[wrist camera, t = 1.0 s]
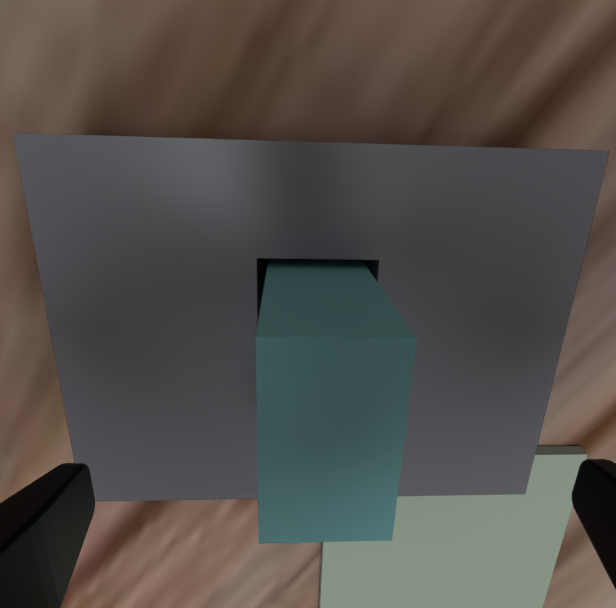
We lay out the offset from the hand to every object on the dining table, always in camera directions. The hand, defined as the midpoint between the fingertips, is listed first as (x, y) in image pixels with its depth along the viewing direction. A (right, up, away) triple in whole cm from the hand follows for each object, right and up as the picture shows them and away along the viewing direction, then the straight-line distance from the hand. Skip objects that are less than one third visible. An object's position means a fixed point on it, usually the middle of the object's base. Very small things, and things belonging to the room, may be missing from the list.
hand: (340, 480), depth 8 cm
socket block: (-1, +3, +9) cm, 10 cm away
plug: (-1, +3, +9) cm, 10 cm away
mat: (+6, -9, +14) cm, 18 cm away
